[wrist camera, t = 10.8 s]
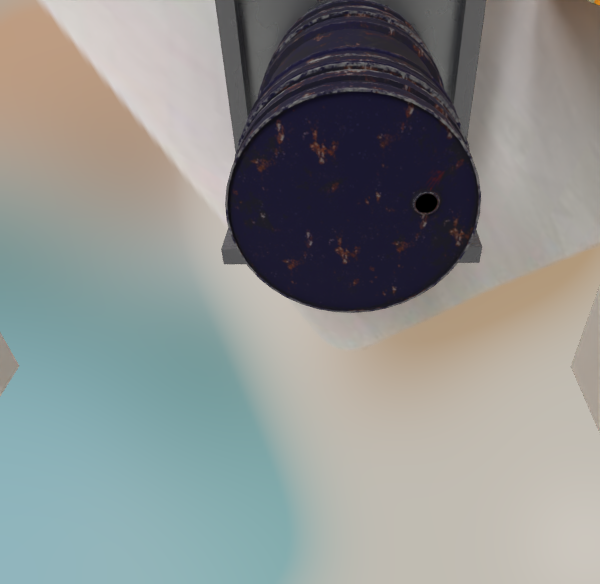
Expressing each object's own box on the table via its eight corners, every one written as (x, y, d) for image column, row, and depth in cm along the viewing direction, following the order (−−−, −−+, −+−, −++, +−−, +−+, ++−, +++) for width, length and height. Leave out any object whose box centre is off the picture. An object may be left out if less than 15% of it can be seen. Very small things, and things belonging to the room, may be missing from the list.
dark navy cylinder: (289, 177, 36) (261, 328, 25) (245, 21, 31) (183, 119, 19) (440, 148, 34) (489, 297, 23) (425, -25, 29) (480, 53, 17)
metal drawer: (215, -120, 29) (158, -112, 20) (487, -139, 27) (551, -139, 19) (251, 175, 39) (223, 264, 31) (449, 171, 38) (479, 262, 29)
